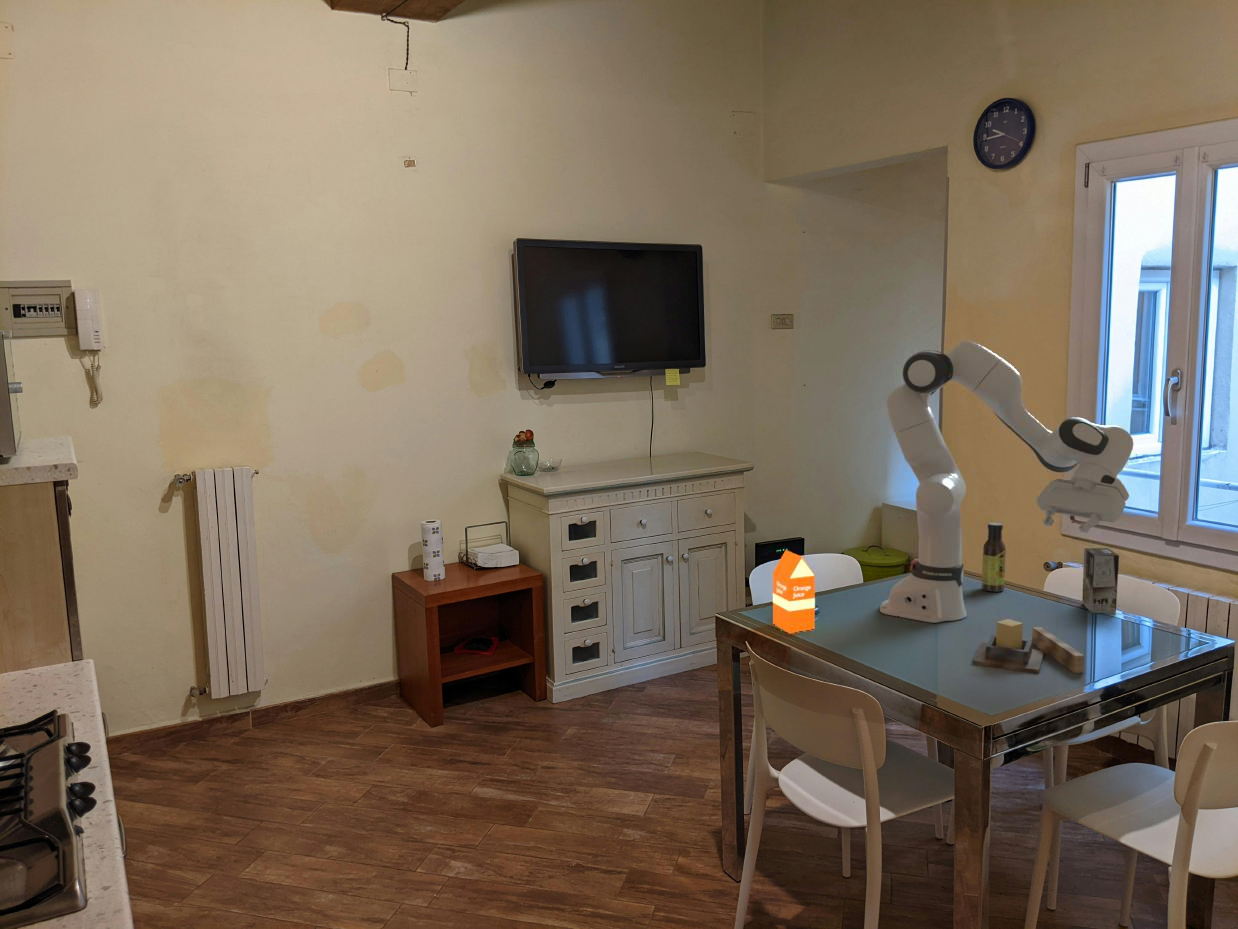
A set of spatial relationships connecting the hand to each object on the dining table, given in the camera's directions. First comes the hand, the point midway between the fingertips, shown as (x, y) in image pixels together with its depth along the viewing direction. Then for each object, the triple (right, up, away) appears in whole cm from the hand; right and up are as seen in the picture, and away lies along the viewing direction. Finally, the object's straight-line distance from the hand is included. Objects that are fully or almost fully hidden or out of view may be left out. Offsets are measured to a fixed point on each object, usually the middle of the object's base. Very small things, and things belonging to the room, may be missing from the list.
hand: (1064, 527), depth 220 cm
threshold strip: (-5, -30, -7) cm, 31 cm away
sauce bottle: (+3, -22, +49) cm, 54 cm away
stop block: (-16, -30, -7) cm, 35 cm away
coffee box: (+24, -24, +29) cm, 44 cm away
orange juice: (-61, -28, +21) cm, 71 cm away
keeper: (-16, -30, -7) cm, 35 cm away
